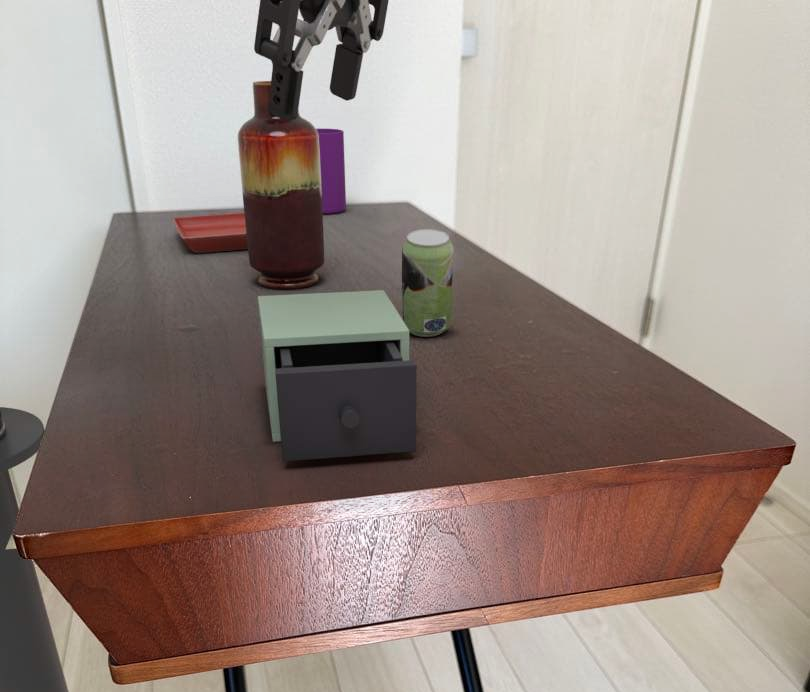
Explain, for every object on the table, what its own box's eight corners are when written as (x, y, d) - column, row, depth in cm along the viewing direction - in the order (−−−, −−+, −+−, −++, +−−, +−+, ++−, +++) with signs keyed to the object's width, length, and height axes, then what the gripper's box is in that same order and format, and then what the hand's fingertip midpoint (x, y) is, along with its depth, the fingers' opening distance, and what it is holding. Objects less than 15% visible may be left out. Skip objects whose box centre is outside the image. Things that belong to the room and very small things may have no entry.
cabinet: (409, 431, 78) (409, 330, 73) (272, 442, 76) (263, 338, 71) (385, 380, 90) (383, 289, 85) (265, 388, 88) (257, 296, 83)
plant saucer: (184, 257, 138) (181, 236, 136) (174, 235, 153) (171, 216, 151) (292, 249, 143) (291, 229, 141) (272, 229, 158) (271, 210, 156)
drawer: (418, 457, 71) (419, 369, 67) (283, 468, 70) (276, 378, 66) (391, 398, 83) (390, 320, 79) (274, 406, 81) (268, 326, 77)
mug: (349, 214, 171) (347, 132, 163) (272, 217, 168) (266, 134, 160) (342, 206, 178) (339, 127, 171) (269, 209, 175) (262, 129, 168)
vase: (335, 275, 128) (327, 80, 115) (311, 293, 119) (299, 84, 105) (267, 270, 130) (252, 79, 117) (238, 288, 121) (218, 83, 108)
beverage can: (443, 323, 107) (445, 224, 101) (458, 340, 101) (462, 237, 95) (395, 326, 106) (394, 226, 100) (407, 344, 100) (408, 239, 94)
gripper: (359, -158, 62) (323, 74, 74) (240, -164, 53) (220, 105, 64) (445, -124, 61) (395, 108, 72) (339, -123, 51) (300, 145, 63)
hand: (313, 106), depth 68 cm, fingers open, 8 cm apart
